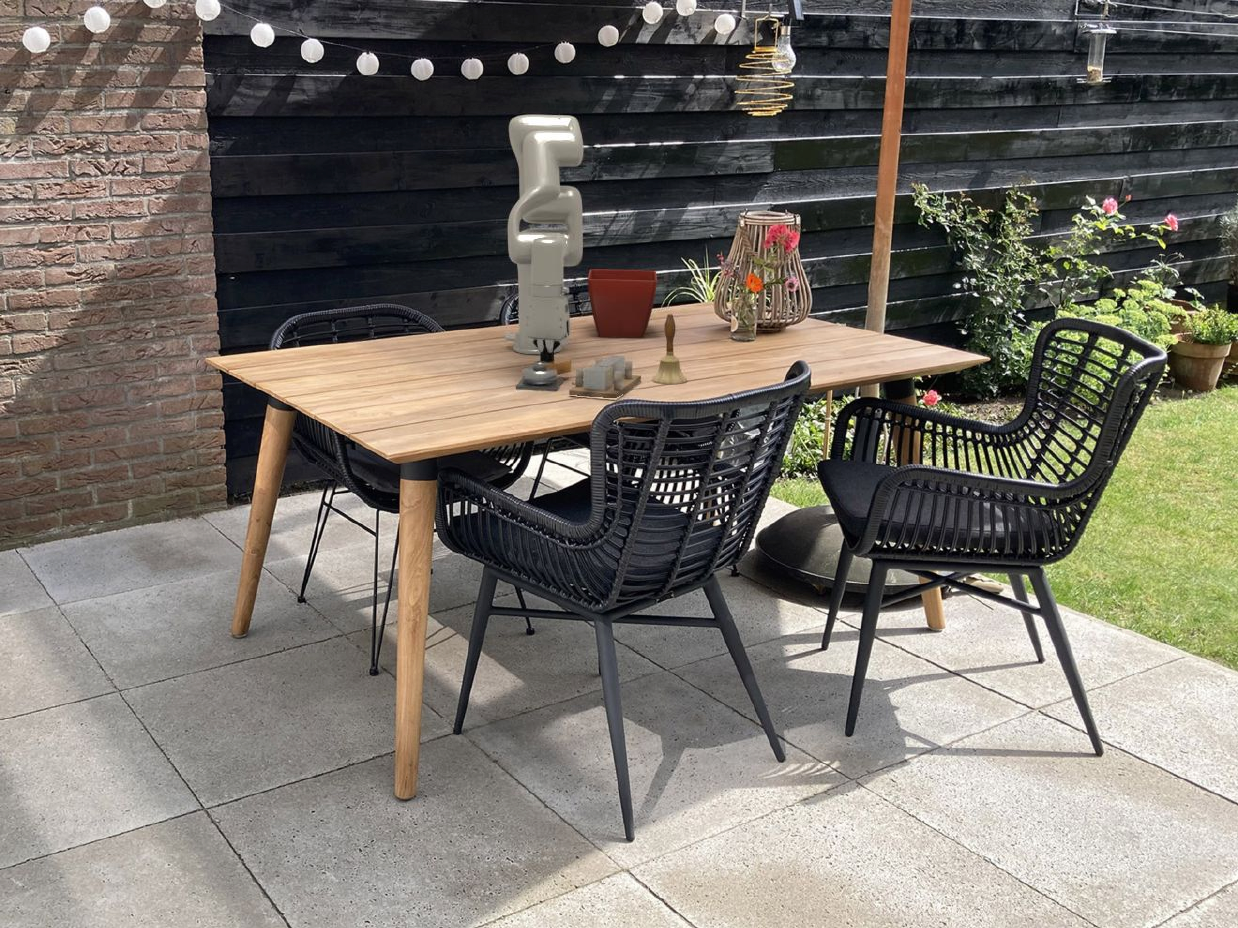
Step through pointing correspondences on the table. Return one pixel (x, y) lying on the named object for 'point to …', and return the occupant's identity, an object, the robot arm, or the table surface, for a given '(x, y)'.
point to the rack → (619, 387)
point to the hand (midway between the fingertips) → (547, 367)
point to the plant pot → (621, 301)
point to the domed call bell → (546, 371)
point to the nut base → (540, 385)
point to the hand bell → (669, 359)
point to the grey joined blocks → (603, 373)
